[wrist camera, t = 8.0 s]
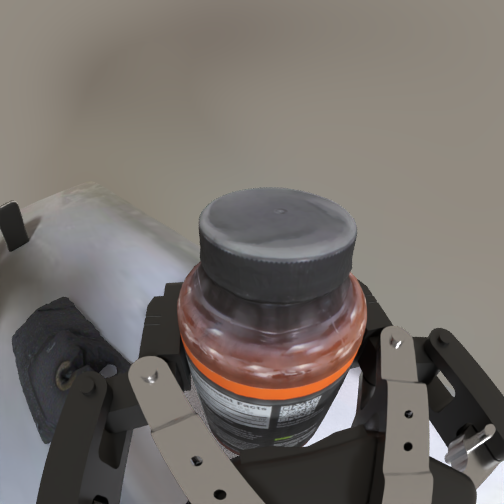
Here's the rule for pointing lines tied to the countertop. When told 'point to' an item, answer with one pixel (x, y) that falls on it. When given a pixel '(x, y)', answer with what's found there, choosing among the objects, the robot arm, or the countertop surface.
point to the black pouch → (58, 359)
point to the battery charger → (12, 225)
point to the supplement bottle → (271, 314)
